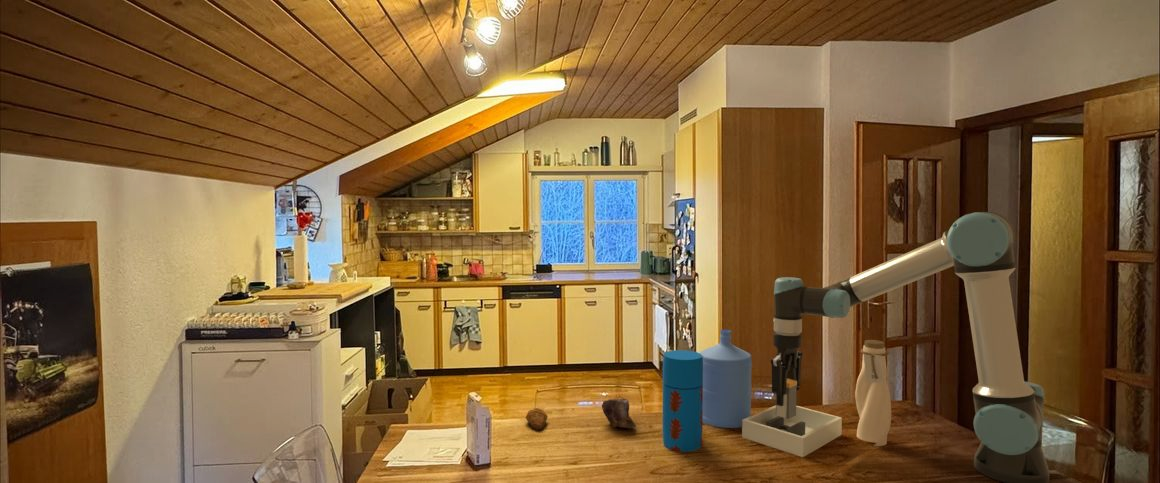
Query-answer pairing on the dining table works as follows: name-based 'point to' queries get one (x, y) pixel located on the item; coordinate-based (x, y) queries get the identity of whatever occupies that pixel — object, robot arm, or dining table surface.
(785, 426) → the inlet
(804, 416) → the box
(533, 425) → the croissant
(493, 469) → the dining table surface
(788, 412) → the grey tall block
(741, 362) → the water jug
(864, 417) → the water bottle
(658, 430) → the dining table surface
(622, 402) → the rock
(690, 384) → the thermos
